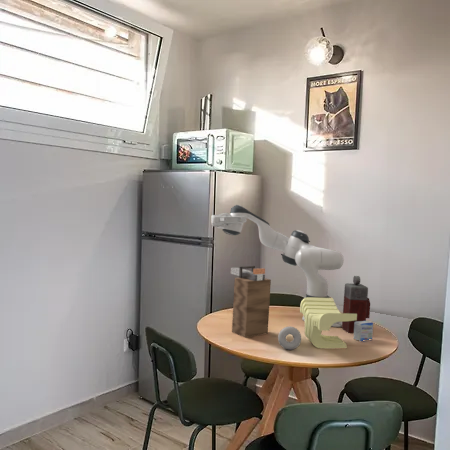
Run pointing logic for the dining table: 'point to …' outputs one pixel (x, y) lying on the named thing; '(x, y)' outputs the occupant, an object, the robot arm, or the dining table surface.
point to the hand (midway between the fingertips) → (233, 219)
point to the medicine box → (363, 330)
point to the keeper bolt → (250, 272)
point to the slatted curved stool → (323, 321)
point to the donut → (294, 342)
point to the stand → (250, 304)
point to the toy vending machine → (355, 303)
